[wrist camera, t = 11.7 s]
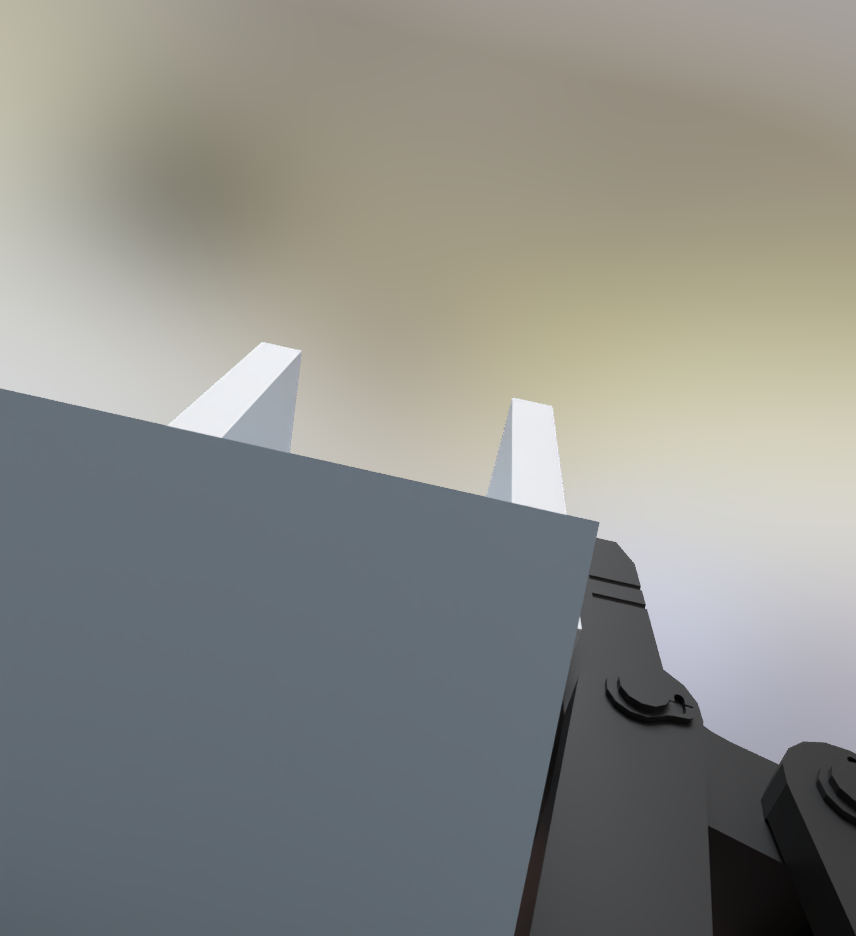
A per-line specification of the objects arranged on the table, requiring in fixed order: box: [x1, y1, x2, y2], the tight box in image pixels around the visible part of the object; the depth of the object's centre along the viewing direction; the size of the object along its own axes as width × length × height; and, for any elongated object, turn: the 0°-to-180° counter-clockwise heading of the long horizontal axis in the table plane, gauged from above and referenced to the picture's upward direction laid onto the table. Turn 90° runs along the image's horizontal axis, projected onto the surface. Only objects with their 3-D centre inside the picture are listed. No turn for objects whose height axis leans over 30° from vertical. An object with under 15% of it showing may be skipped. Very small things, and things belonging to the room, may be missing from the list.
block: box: [0, 389, 599, 936], centre depth 19 cm, size 4×28×4 cm, turn 0°
